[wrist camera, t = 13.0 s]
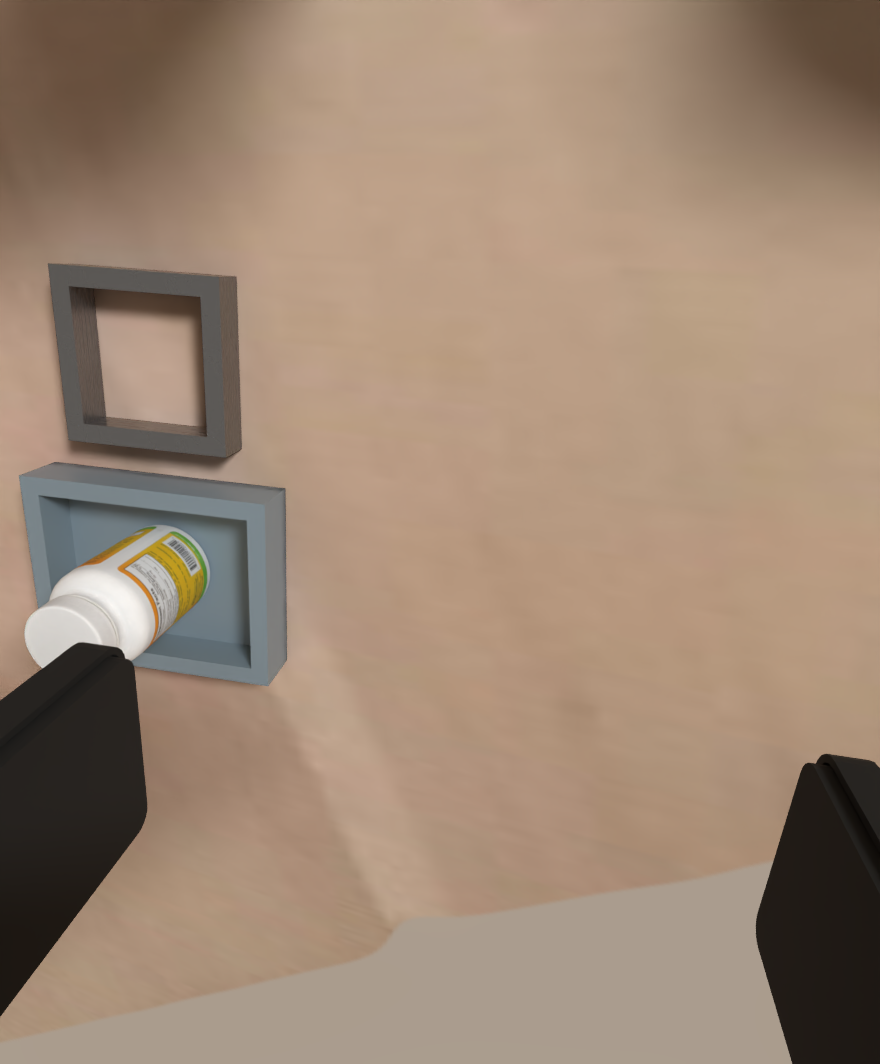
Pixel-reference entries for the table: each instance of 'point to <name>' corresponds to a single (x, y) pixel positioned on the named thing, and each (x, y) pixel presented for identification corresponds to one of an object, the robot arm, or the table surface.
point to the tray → (212, 521)
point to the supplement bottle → (122, 595)
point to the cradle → (85, 366)
